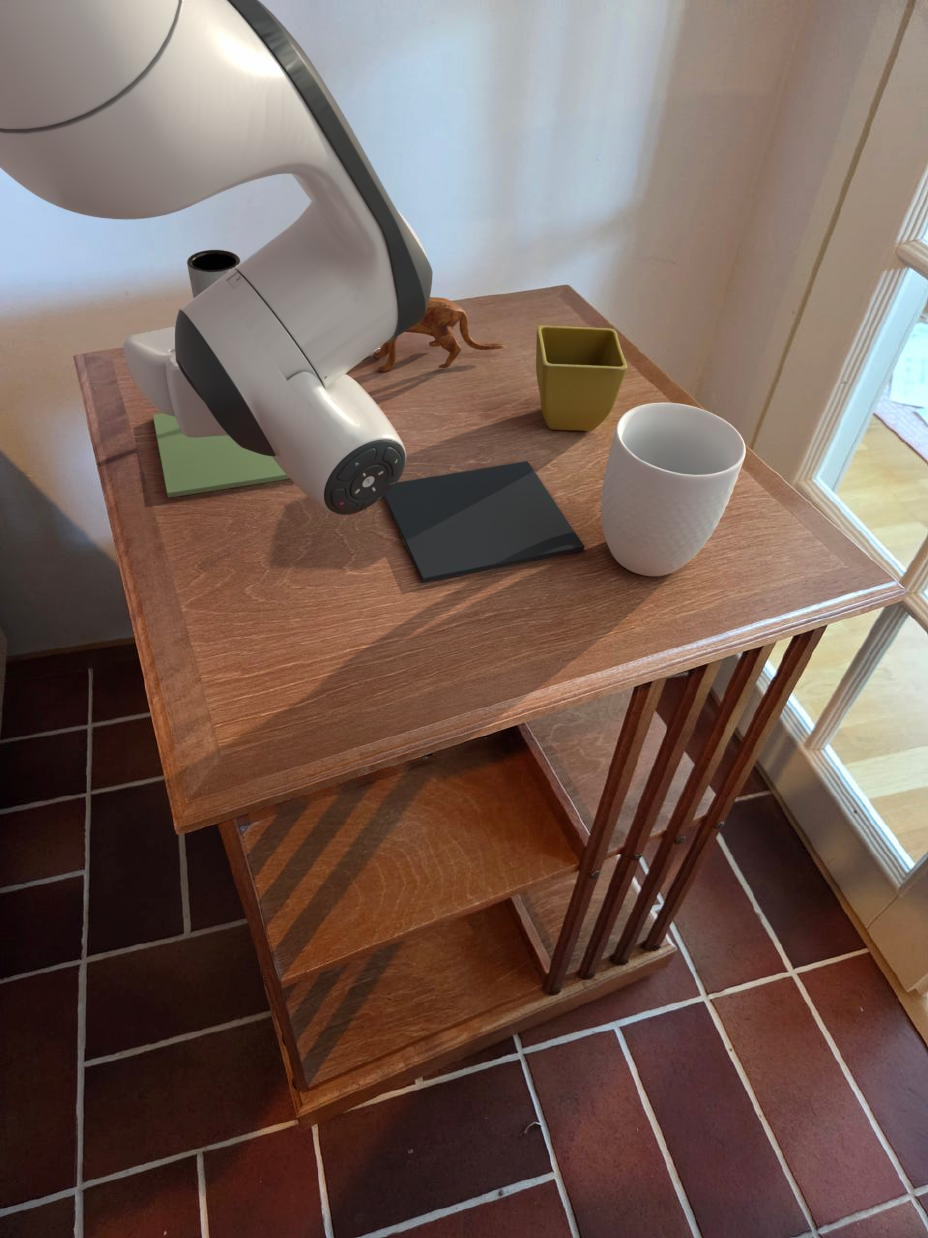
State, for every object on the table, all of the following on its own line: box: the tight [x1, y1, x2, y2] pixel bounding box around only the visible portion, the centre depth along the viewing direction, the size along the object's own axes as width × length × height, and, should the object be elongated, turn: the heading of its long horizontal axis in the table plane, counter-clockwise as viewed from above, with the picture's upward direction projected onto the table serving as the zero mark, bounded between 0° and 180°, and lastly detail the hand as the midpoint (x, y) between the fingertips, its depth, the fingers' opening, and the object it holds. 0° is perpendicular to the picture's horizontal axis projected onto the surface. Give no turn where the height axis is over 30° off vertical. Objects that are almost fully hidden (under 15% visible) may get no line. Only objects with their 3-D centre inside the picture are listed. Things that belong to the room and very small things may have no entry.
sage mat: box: [152, 412, 291, 499], centre depth 86 cm, size 16×14×1 cm
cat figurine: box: [373, 296, 505, 373], centre depth 96 cm, size 18×7×14 cm, turn 104°
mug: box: [600, 402, 747, 577], centre depth 75 cm, size 15×11×13 cm
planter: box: [186, 249, 242, 300], centre depth 76 cm, size 4×4×10 cm
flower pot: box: [535, 325, 628, 432], centre depth 91 cm, size 9×9×9 cm
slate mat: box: [382, 460, 586, 584], centre depth 81 cm, size 16×14×1 cm
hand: (217, 308), depth 77 cm, fingers closed on planter, 4 cm apart
